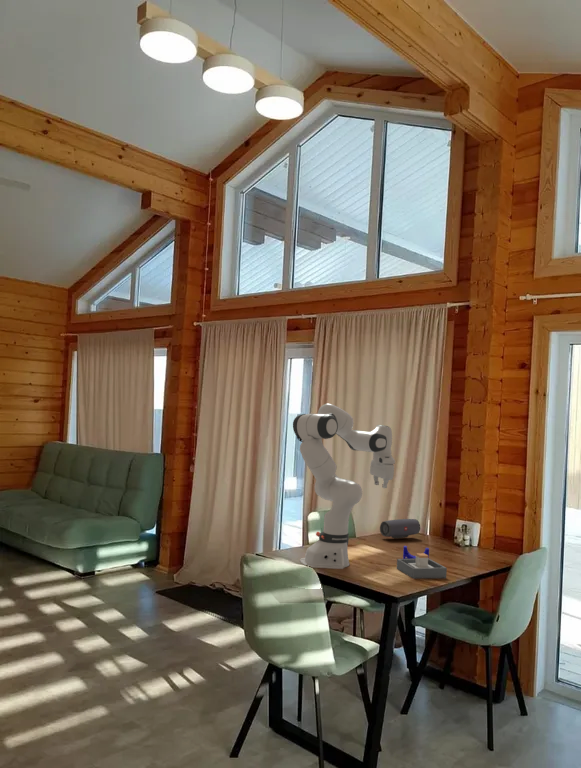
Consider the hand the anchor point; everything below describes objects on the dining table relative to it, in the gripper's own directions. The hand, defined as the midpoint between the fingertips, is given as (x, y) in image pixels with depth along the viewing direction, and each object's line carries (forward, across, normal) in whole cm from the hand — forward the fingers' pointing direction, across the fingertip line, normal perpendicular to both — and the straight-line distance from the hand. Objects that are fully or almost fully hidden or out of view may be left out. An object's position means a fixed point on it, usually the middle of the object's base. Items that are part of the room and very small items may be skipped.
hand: (380, 486), depth 319 cm
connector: (+33, +32, +7) cm, 47 cm away
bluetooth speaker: (+35, -39, +31) cm, 61 cm away
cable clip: (+34, +8, +17) cm, 39 cm away
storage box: (+34, +32, +7) cm, 47 cm away
